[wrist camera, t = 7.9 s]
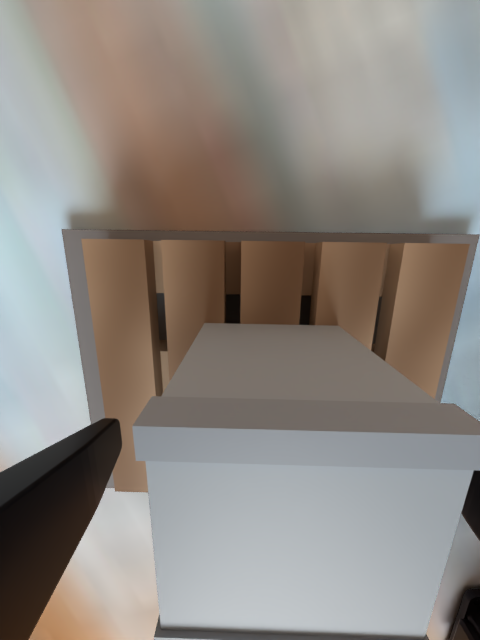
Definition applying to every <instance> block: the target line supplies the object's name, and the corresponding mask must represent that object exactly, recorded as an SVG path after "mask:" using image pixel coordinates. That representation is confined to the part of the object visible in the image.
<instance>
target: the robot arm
mask: <svg viewBox="0 0 480 640" xmlns="http://www.w3.org/2000/svg"><path fill="white" fill-rule="evenodd" d="M121 449H122V436H121V428H120V422H119V420H118V419H117V418H103V419H101V420H99V421H97V422H95V423H93V424H91V425H89V426H87V427H86V428H84V429H82V430H80V431H78V432H76V433H74V434H72V435H70V436H68V437H67V438H65V439H63V440H61V441H59V442H57V443H55V444H53V445H51V446H50V447H48V448H46V449H44V450H42V451H40V452H38V453H36V454H34V455H32V456H31V457H29V458H27V459H25V460H23V461H21V462H19V463H17V464H15V465H13V466H12V467H10V468H8V469H6V470H4V471H2V472H0V640H29V638H30V636H31V634H32V632H33V630H34V628H35V626H36V624H37V622H38V620H39V619H40V617H41V615H42V613H43V611H44V609H45V607H46V605H47V603H48V601H49V599H50V598H51V596H52V594H53V592H54V590H55V588H56V586H57V584H58V582H59V580H60V578H61V577H62V575H63V573H64V571H65V569H66V567H67V565H68V563H69V561H70V559H71V557H72V556H73V554H74V552H75V550H76V548H77V546H78V544H79V542H80V540H81V538H82V536H83V535H84V533H85V531H86V529H87V527H88V525H89V523H90V521H91V519H92V517H93V515H94V513H95V511H96V509H97V507H98V505H99V503H100V500H101V498H102V496H103V493H104V491H105V488H106V486H107V484H108V481H109V479H110V476H111V474H112V472H113V469H114V467H115V464H116V462H117V459H118V457H119V455H120V452H121ZM461 513H462V515H463V516H464V518H465V520H466V521H467V523H468V524H469V526H470V527H471V529H472V530H473V532H474V533H475V535H476V536H477V538H478V539H479V541H480V471H478V470H474V471H473V475H472V478H471V482H470V485H469V488H468V492H467V495H466V499H465V502H464V505H463V509H462V512H461ZM449 640H480V589H469V590H467V591H466V592H465V593H464V596H463V599H462V602H461V605H460V608H459V611H458V614H457V617H456V620H455V624H454V627H453V630H452V633H451V636H450V639H449Z"/></svg>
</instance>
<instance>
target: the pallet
mask: <svg viewBox="0 0 480 640" xmlns="http://www.w3.org/2000/svg"><path fill="white" fill-rule="evenodd" d="M81 240H82V248H83V255H84V263H85V270H86V278H87V285H88V293H89V300H90V308H91V315H92V322H93V330H94V337H95V345H96V352H97V360H98V367H99V375H100V382H101V390H102V397H103V405H104V412H105V418H117V419H118V420H119V422H120V428H121V436H122V449H121V452H120V455H119V457H118V459H117V462H116V464H115V467H114V469H113V479H114V487H115V491H122V492H148V483H147V473H146V462H145V461H136V458H135V448H134V439H133V429H132V426H133V424H134V423H135V421H136V420H137V418H138V417H139V415H140V414H141V412H142V410H143V409H144V407H145V406H146V404H147V403H148V401H149V400H150V398H151V397H152V396H162V394H163V392H164V390H165V389H166V387H167V385H168V384H169V382H170V380H171V379H172V377H173V375H174V374H175V372H176V370H177V369H178V367H179V365H180V364H181V362H182V360H183V359H184V357H185V355H186V353H187V352H188V350H189V348H190V347H191V345H192V343H193V342H194V340H195V338H196V337H197V335H198V333H199V332H200V330H201V328H202V327H203V325H204V323H226V294H241V306H240V324H277V325H299V320H300V306H301V295H311V306H310V318H309V325H328V326H339V327H341V328H342V329H343V330H345V331H346V332H347V333H349V334H350V335H351V336H353V337H354V338H355V339H356V340H358V341H359V342H360V343H362V344H363V345H364V346H366V347H367V348H368V349H370V350H371V351H372V352H373V353H375V354H376V355H377V356H379V357H380V358H381V359H383V360H384V361H385V362H387V363H388V364H389V365H390V366H392V367H393V368H394V369H396V370H397V371H398V372H400V373H401V374H402V375H404V376H405V377H406V378H407V379H409V380H410V381H411V382H413V383H414V384H415V385H417V386H418V387H419V388H421V389H422V390H423V391H425V392H426V393H427V394H428V395H430V396H431V397H432V398H434V399H435V396H436V391H437V387H438V382H439V378H440V374H441V369H442V365H443V360H444V356H445V352H446V347H447V343H448V338H449V334H450V330H451V325H452V321H453V316H454V312H455V307H456V303H457V299H458V294H459V290H460V285H461V281H462V277H463V272H464V268H465V263H466V259H467V255H468V250H469V246H470V244H444V243H398V244H387V243H367V242H319V243H305V242H290V241H241V242H225V241H213V240H161V241H150V240H137V239H81ZM156 293H164V299H165V315H166V332H167V340H160V339H159V324H158V309H157V295H156ZM379 297H382V302H381V309H380V315H379V322H378V328H377V335H376V342H375V344H372V341H373V334H374V327H375V321H376V314H377V307H378V301H379Z"/></svg>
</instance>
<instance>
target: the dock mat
mask: <svg viewBox="0 0 480 640" xmlns="http://www.w3.org/2000/svg"><path fill="white" fill-rule="evenodd" d="M62 235H63V241H64V248H65V255H66V261H67V268H68V275H69V281H70V288H71V294H72V301H73V308H74V314H75V321H76V328H77V334H78V341H79V348H80V354H81V361H82V367H83V374H84V381H85V387H86V394H87V401H88V407H89V414H90V420H91V424H93V423H95V422H97V421H99V420H101V419H103V418H105V412H104V405H103V397H102V390H101V382H100V375H99V367H98V360H97V352H96V345H95V337H94V330H93V322H92V315H91V308H90V300H89V293H88V285H87V278H86V270H85V263H84V255H83V248H82V240H81V239H137V240H150V241H161V240H213V241H225V242H241V241H290V242H305V243H319V242H367V243H387V244H398V243H444V244H470V246H469V250H468V255H467V259H466V263H465V268H464V272H463V277H462V281H461V285H460V290H459V294H458V299H457V303H456V307H455V312H454V316H453V321H452V325H451V330H450V334H449V338H448V343H447V347H446V352H445V356H444V360H443V365H442V369H441V374H440V378H439V382H438V387H437V391H436V396H435V400H436V401H438V402H439V403H440V402H441V397H442V393H443V389H444V385H445V380H446V376H447V372H448V367H449V363H450V359H451V355H452V350H453V346H454V342H455V337H456V333H457V329H458V325H459V320H460V316H461V312H462V308H463V303H464V299H465V295H466V290H467V286H468V282H469V278H470V273H471V269H472V265H473V260H474V256H475V252H476V248H477V243H478V239H479V235H471V234H391V233H310V232H230V231H150V230H69V229H62ZM156 295H157V309H158V324H159V339H160V340H167V332H166V315H165V299H164V293H156ZM381 302H382V297H379V301H378V307H377V314H376V321H375V327H374V334H373V341H372V344H375V342H376V335H377V328H378V322H379V315H380V309H381ZM240 306H241V294H226V323H227V324H240ZM310 306H311V295H301V306H300V320H299V325H309V318H310ZM106 488H115V487H114V479H113V472H112V474H111V476H110V479H109V481H108V484H107V486H106Z"/></svg>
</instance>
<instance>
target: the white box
mask: <svg viewBox="0 0 480 640" xmlns="http://www.w3.org/2000/svg"><path fill="white" fill-rule="evenodd" d="M132 429H133V439H134V448H135V458H136V461H145V462H146V473H147V483H148V494H149V505H150V516H151V527H152V538H153V549H154V560H155V570H156V581H157V592H158V603H159V618H158V623H157V627H156V631H155V635H154V640H429V639H428V637H427V635H426V631H427V628H428V625H429V621H430V618H431V614H432V611H433V608H434V604H435V601H436V597H437V594H438V591H439V587H440V584H441V580H442V577H443V573H444V570H445V567H446V563H447V560H448V556H449V553H450V550H451V546H452V543H453V539H454V536H455V533H456V529H457V526H458V522H459V519H460V516H461V512H462V509H463V505H464V502H465V499H466V495H467V492H468V488H469V485H470V482H471V478H472V475H473V471H474V470H478V471H480V422H479V421H478V420H476V419H475V418H474V417H472V416H471V415H469V414H468V413H467V412H465V411H464V410H462V409H461V408H460V407H458V406H457V405H455V404H448V403H439V402H438V401H436V400H435V399H434V398H432V397H431V396H430V395H428V394H427V393H426V392H425V391H423V390H422V389H421V388H419V387H418V386H417V385H415V384H414V383H413V382H411V381H410V380H409V379H407V378H406V377H405V376H404V375H402V374H401V373H400V372H398V371H397V370H396V369H394V368H393V367H392V366H390V365H389V364H388V363H387V362H385V361H384V360H383V359H381V358H380V357H379V356H377V355H376V354H375V353H373V352H372V351H371V350H370V349H368V348H367V347H366V346H364V345H363V344H362V343H360V342H359V341H358V340H356V339H355V338H354V337H353V336H351V335H350V334H349V333H347V332H346V331H345V330H343V329H342V328H341V327H339V326H328V325H277V324H227V323H204V325H203V327H202V328H201V330H200V332H199V333H198V335H197V337H196V338H195V340H194V342H193V343H192V345H191V347H190V348H189V350H188V352H187V353H186V355H185V357H184V359H183V360H182V362H181V364H180V365H179V367H178V369H177V370H176V372H175V374H174V375H173V377H172V379H171V380H170V382H169V384H168V385H167V387H166V389H165V390H164V392H163V394H162V396H152V397H151V398H150V400H149V401H148V403H147V404H146V406H145V407H144V409H143V410H142V412H141V414H140V415H139V417H138V418H137V420H136V421H135V423H134V424H133V426H132Z"/></svg>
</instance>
